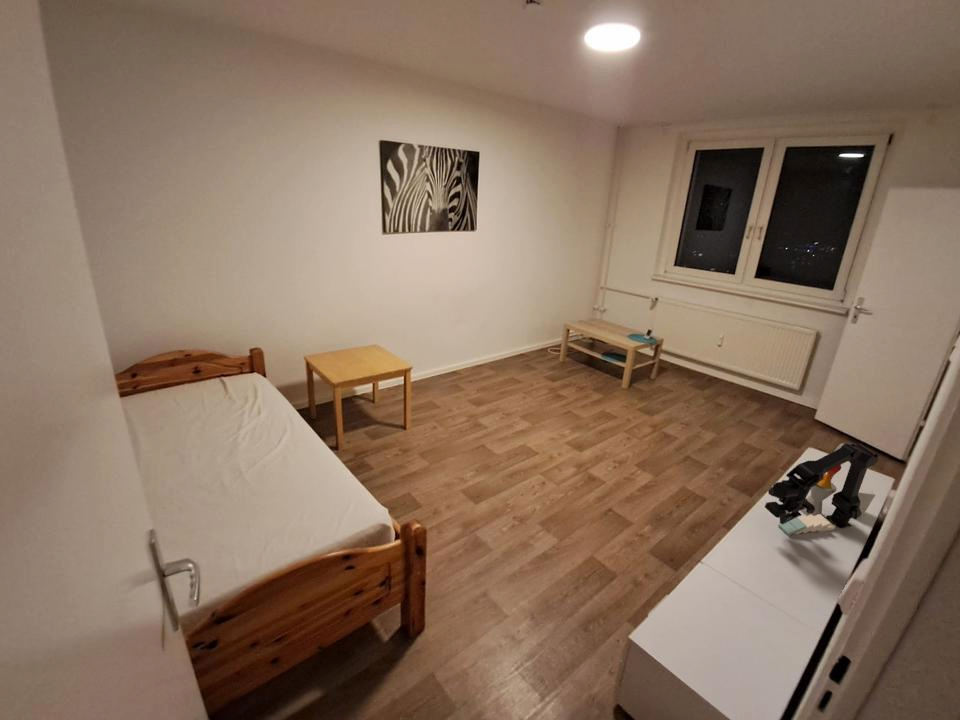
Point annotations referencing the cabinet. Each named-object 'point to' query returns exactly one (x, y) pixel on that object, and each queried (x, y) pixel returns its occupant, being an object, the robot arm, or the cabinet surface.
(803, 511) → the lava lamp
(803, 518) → the domino
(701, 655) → the cabinet surface
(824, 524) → the domino
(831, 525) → the end domino
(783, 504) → the robot arm
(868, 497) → the supplement box
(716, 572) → the cabinet surface
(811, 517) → the domino
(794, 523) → the domino
